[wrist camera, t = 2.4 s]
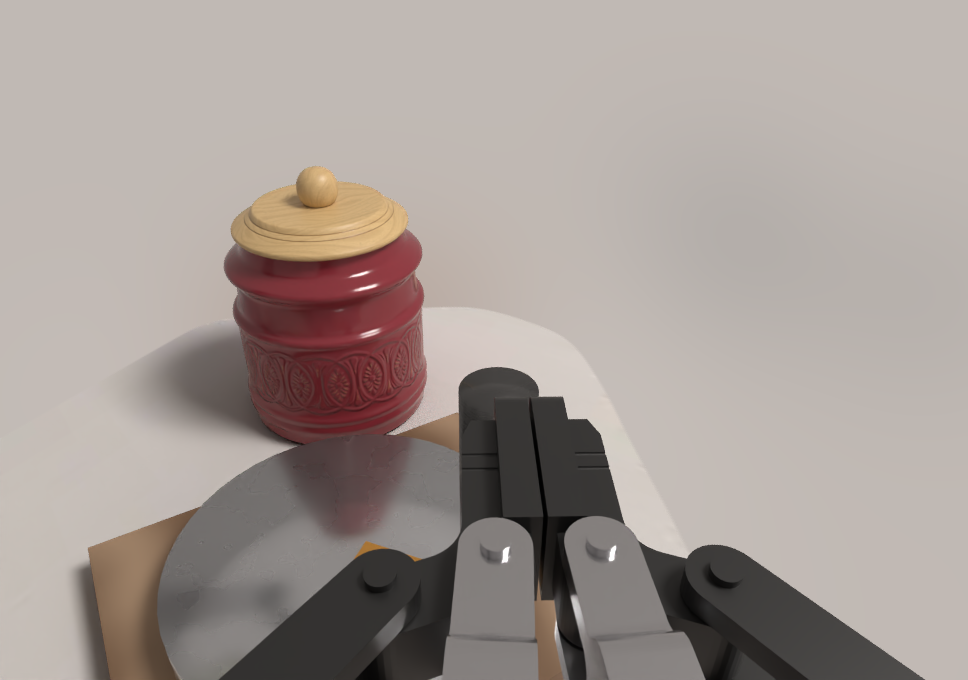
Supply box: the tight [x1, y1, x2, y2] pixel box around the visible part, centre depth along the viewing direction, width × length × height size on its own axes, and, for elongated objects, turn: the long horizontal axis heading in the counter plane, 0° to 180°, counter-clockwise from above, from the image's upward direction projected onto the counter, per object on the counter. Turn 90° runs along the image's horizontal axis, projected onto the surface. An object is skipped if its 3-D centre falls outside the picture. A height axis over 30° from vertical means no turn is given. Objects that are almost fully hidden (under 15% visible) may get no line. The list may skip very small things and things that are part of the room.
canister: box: [224, 166, 427, 444], centre depth 48 cm, size 13×13×18 cm
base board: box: [88, 413, 564, 680], centre depth 36 cm, size 23×19×2 cm
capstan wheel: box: [157, 367, 539, 680], centre depth 32 cm, size 18×18×14 cm
